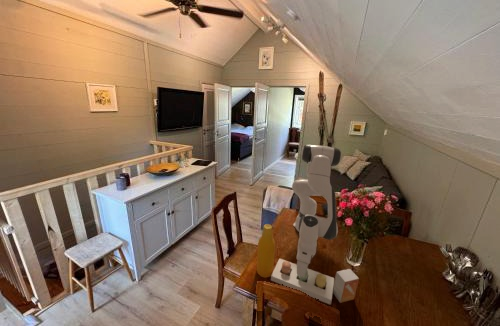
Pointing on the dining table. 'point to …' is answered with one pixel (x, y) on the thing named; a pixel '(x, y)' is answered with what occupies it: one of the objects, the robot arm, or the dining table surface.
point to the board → (303, 286)
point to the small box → (345, 285)
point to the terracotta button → (286, 268)
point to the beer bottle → (266, 252)
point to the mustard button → (320, 281)
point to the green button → (303, 277)
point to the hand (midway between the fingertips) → (303, 270)
